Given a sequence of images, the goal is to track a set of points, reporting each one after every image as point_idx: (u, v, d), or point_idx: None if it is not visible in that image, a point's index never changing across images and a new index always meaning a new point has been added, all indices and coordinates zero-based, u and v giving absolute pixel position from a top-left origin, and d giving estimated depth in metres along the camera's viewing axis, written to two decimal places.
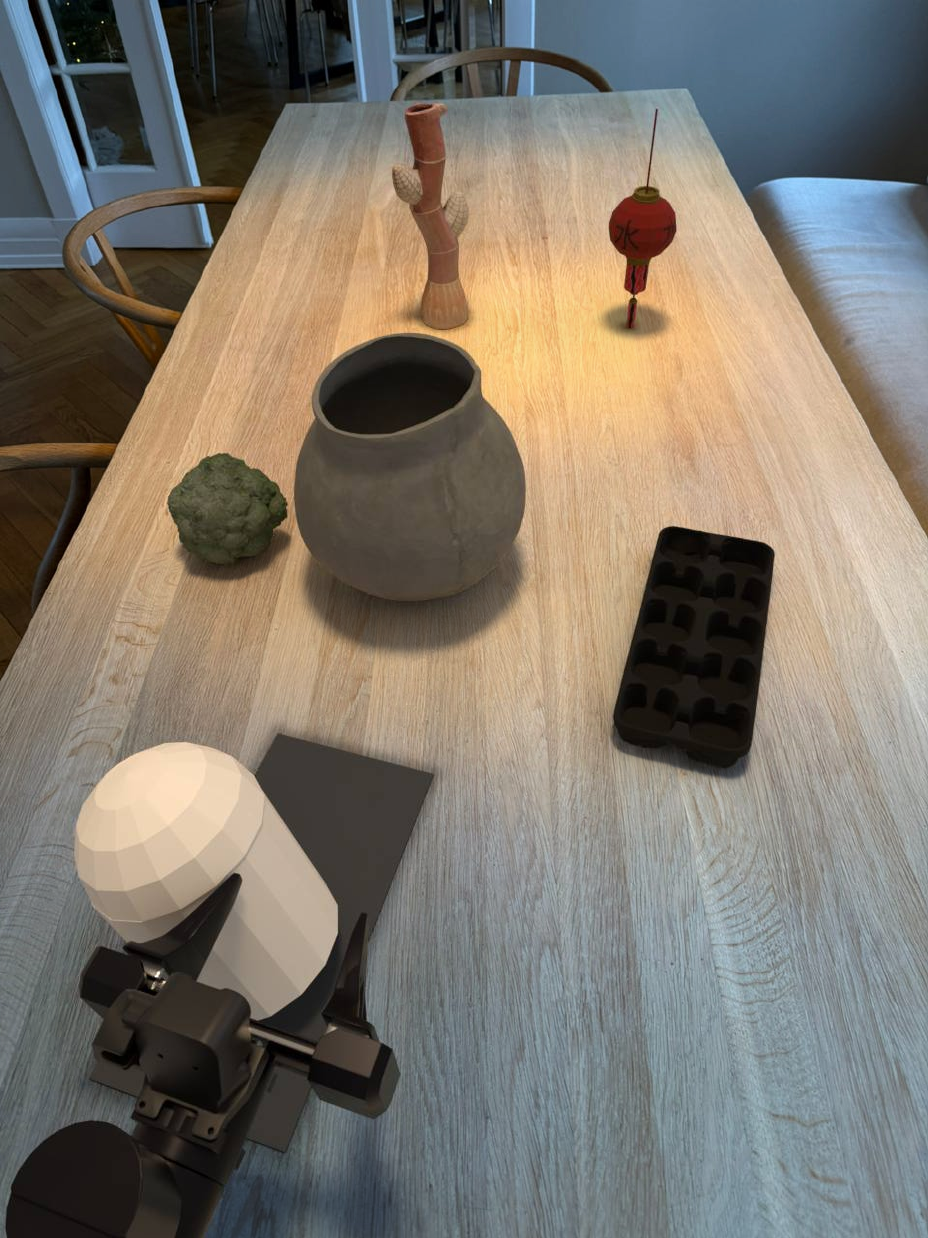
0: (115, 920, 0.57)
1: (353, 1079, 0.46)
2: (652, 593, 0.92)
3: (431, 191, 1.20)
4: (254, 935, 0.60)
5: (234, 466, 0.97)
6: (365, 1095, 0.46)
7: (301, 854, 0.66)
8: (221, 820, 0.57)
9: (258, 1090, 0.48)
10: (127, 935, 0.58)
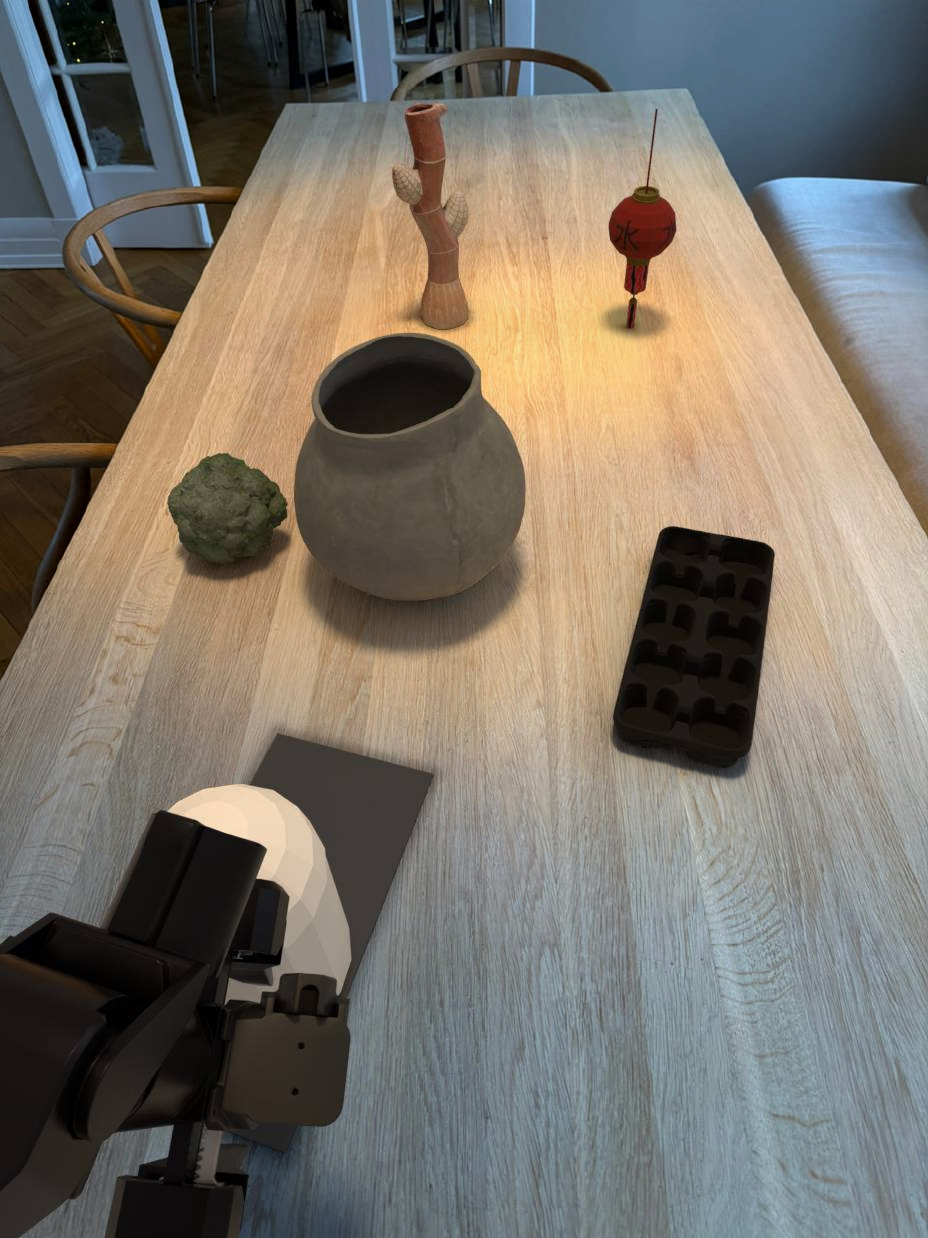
0: None
1: None
2: (652, 593, 0.92)
3: (431, 191, 1.20)
4: None
5: (234, 466, 0.97)
6: None
7: (337, 893, 0.67)
8: (300, 888, 0.57)
9: (185, 1123, 0.43)
10: None
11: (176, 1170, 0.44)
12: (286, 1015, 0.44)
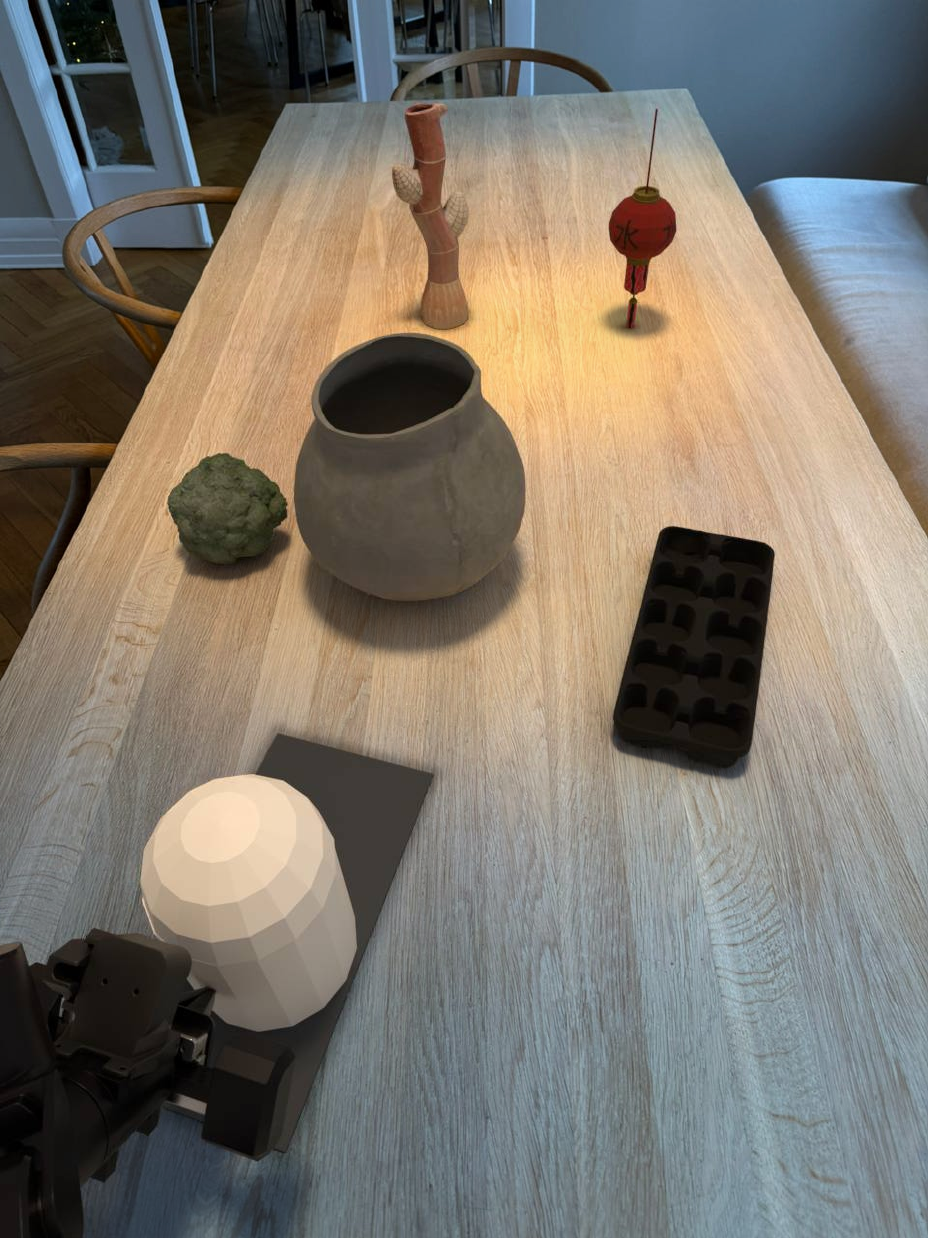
0: None
1: (259, 1064, 0.50)
2: (652, 593, 0.92)
3: (431, 191, 1.20)
4: (307, 971, 0.62)
5: (234, 466, 0.97)
6: (267, 1079, 0.50)
7: (344, 882, 0.67)
8: (310, 879, 0.58)
9: (156, 1085, 0.50)
10: None
11: (203, 1092, 0.51)
12: (78, 992, 0.49)
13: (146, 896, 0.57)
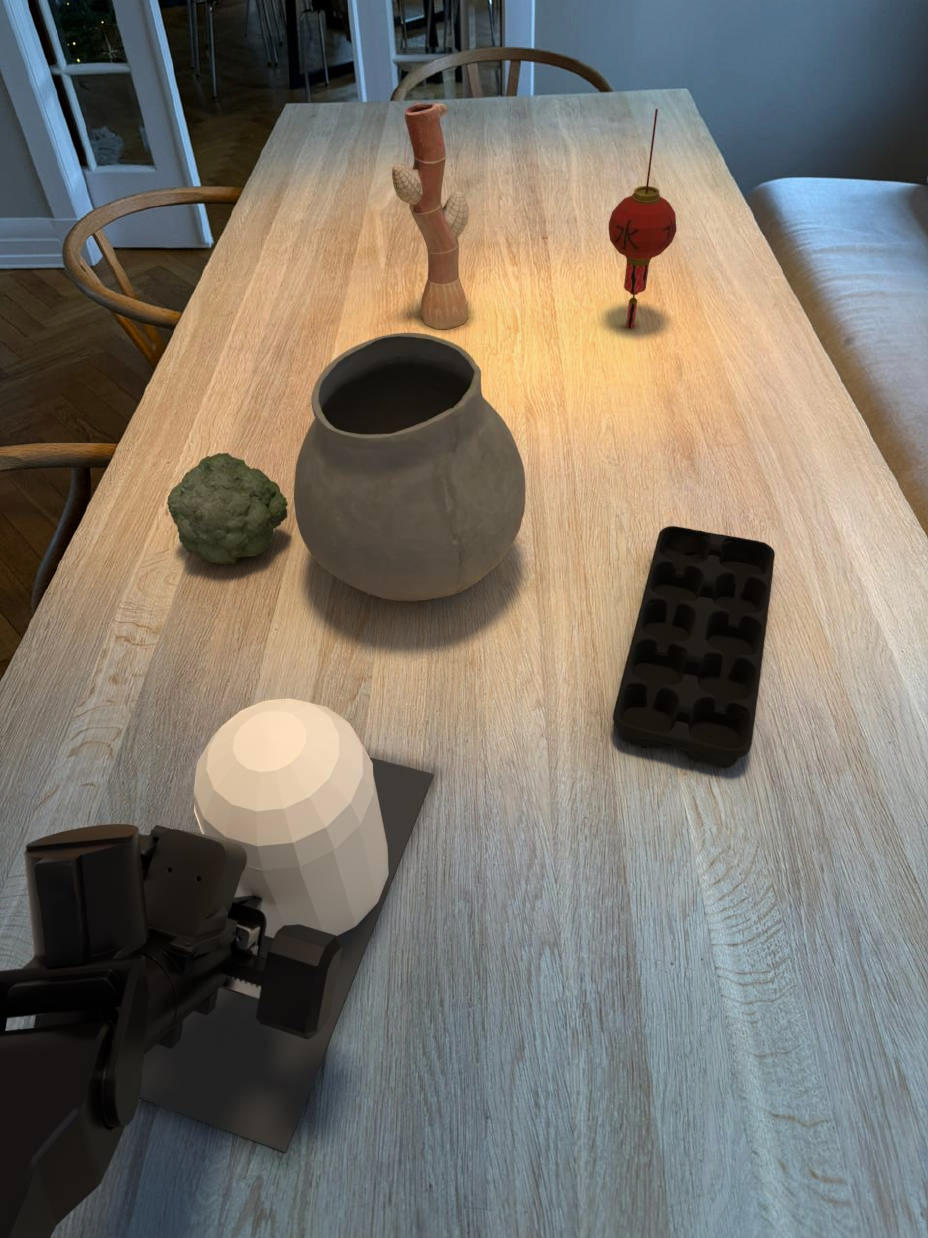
0: None
1: (310, 948, 0.55)
2: (652, 593, 0.92)
3: (431, 191, 1.20)
4: (343, 885, 0.66)
5: (234, 466, 0.97)
6: (318, 962, 0.54)
7: (379, 809, 0.72)
8: (350, 794, 0.62)
9: (216, 967, 0.54)
10: None
11: (258, 976, 0.55)
12: (145, 879, 0.54)
13: (199, 803, 0.62)
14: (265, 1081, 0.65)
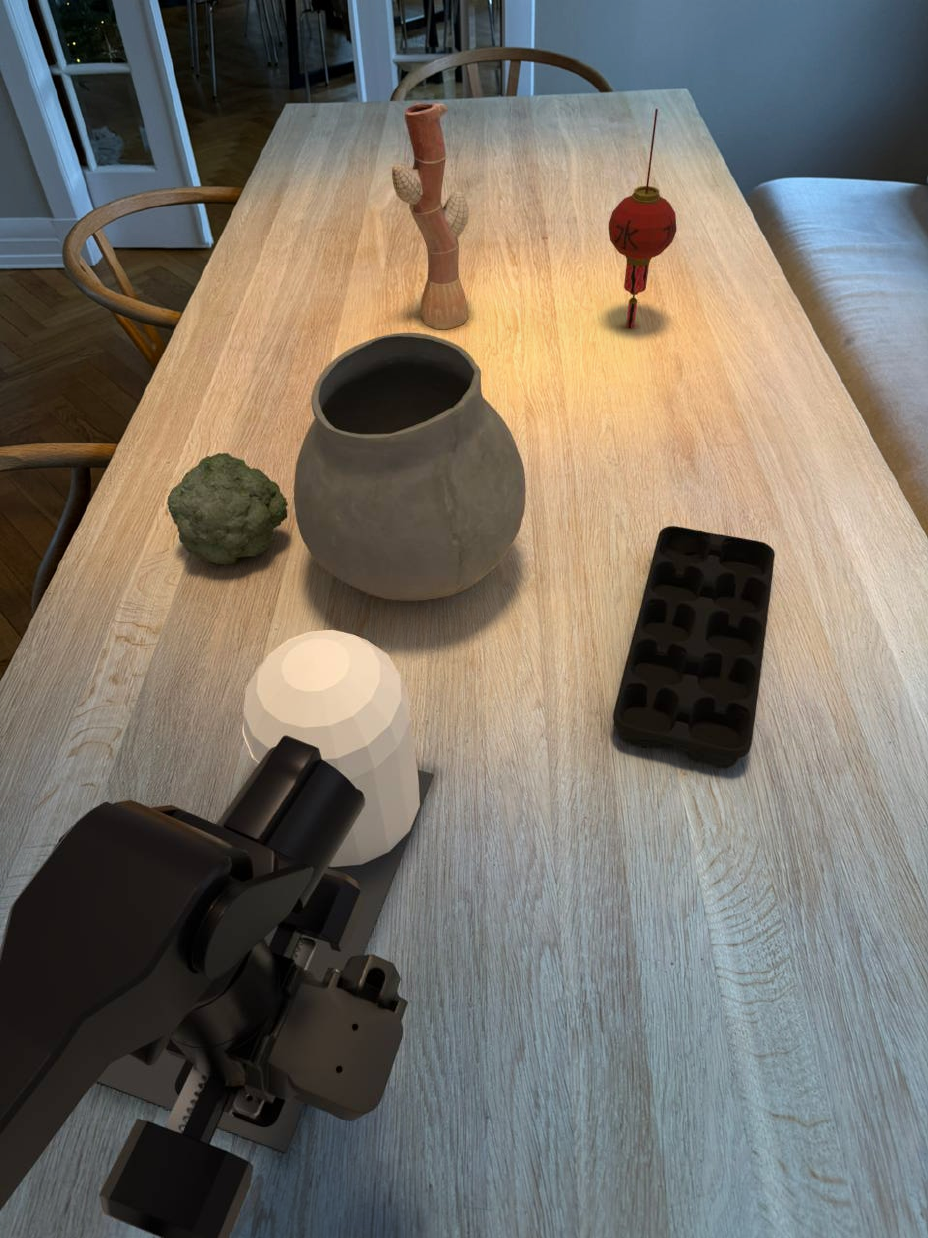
0: None
1: (218, 1219, 0.40)
2: (652, 593, 0.92)
3: (431, 191, 1.20)
4: (380, 807, 0.71)
5: (234, 466, 0.97)
6: (198, 1234, 0.40)
7: (413, 741, 0.76)
8: (390, 716, 0.66)
9: (223, 1075, 0.43)
10: None
11: (197, 1126, 0.43)
12: (348, 993, 0.44)
13: (248, 723, 0.66)
14: None
